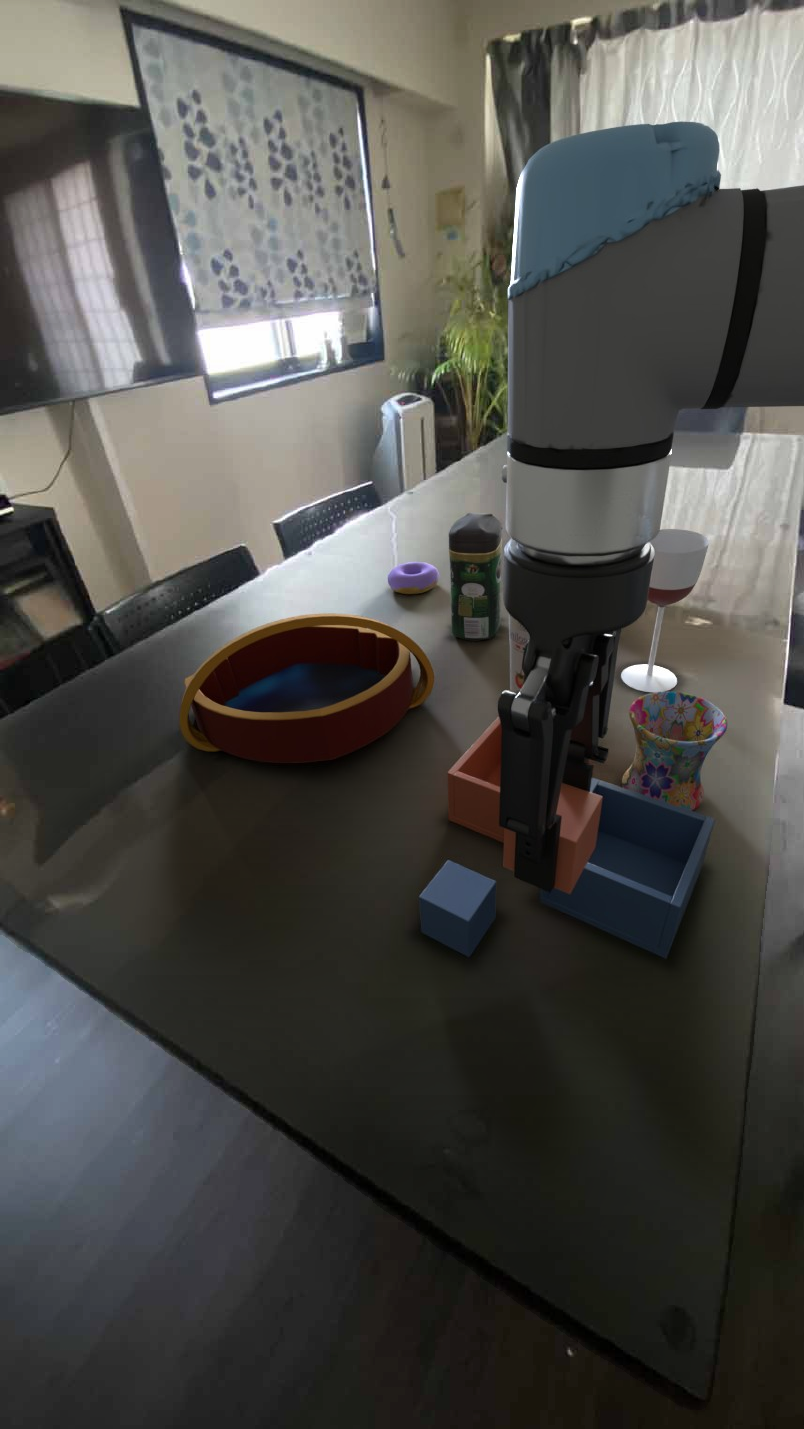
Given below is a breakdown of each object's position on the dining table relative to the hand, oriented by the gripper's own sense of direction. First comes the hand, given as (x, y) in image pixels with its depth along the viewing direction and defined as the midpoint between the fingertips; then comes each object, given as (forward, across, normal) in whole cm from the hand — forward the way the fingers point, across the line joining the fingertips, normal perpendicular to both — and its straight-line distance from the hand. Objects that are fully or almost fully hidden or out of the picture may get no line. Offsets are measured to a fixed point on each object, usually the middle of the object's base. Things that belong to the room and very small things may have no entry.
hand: (550, 853), depth 46 cm
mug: (+15, -29, +2) cm, 32 cm away
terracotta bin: (+15, -18, -10) cm, 25 cm away
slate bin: (+15, -13, +3) cm, 20 cm away
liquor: (+15, -34, -16) cm, 40 cm away
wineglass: (+15, -51, -5) cm, 53 cm away
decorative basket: (+15, -20, -42) cm, 49 cm away
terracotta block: (0, 0, 0) cm, 0 cm away
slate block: (+15, -1, -8) cm, 17 cm away
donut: (+15, -64, -53) cm, 84 cm away
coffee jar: (+15, -53, -34) cm, 65 cm away
